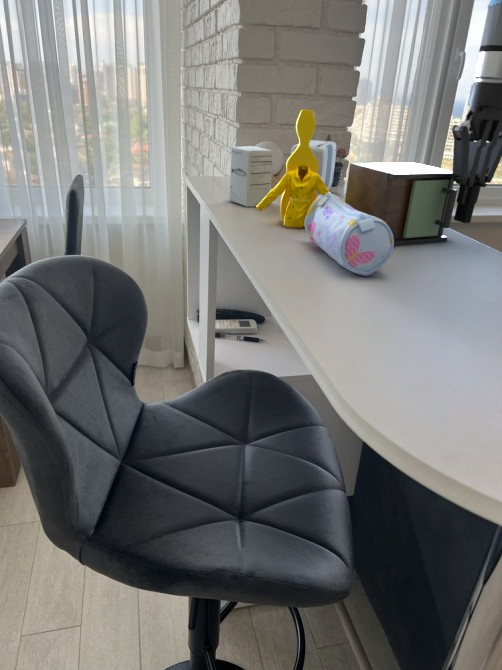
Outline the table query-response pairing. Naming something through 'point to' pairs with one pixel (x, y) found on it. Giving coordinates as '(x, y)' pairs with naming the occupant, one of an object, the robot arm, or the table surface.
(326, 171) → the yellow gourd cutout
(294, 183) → the figure statuette
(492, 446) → the table surface
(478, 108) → the robot arm
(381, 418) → the table surface
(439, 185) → the sliding door
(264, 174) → the white packaging box
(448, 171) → the cabinet
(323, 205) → the pencil case
